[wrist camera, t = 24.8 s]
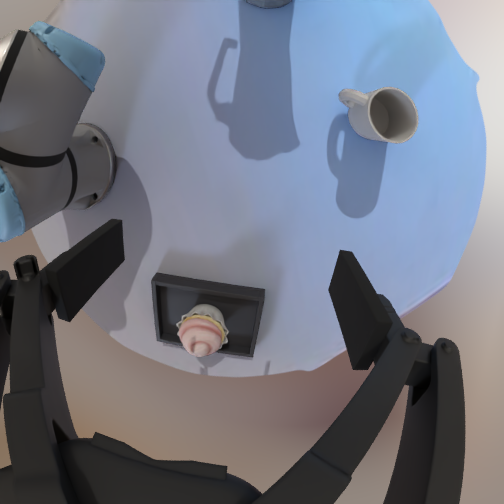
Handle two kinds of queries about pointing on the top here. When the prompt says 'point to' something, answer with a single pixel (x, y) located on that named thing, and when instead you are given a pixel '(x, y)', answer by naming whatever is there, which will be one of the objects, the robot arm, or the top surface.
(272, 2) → the moka pot
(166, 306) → the baking tray
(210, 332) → the cupcake
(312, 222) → the top surface
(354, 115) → the cup
